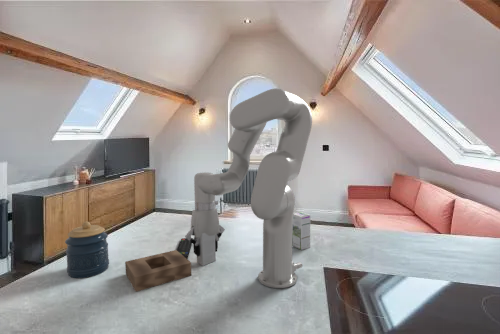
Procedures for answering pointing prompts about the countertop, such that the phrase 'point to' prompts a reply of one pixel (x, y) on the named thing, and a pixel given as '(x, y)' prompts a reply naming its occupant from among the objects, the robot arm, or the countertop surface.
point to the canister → (87, 251)
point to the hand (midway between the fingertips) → (206, 252)
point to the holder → (157, 269)
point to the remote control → (184, 247)
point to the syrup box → (301, 231)
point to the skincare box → (206, 249)
